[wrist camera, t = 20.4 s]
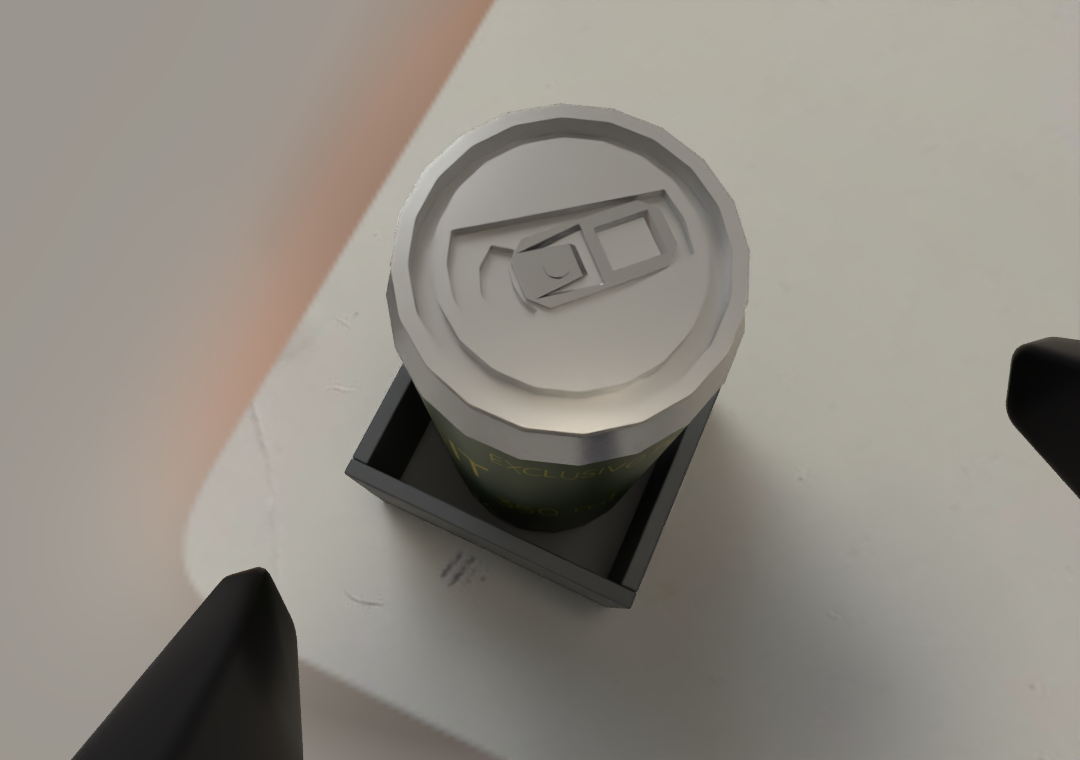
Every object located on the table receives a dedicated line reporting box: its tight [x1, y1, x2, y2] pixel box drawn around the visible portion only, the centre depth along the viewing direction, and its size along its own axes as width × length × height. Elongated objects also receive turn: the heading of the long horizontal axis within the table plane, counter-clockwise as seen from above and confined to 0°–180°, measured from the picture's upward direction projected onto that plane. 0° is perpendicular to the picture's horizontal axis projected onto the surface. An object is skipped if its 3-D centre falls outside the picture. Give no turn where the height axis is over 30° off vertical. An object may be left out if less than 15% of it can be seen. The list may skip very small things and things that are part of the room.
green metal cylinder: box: [386, 103, 750, 532], centre depth 16 cm, size 5×5×12 cm
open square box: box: [345, 364, 721, 609], centre depth 20 cm, size 7×7×5 cm
